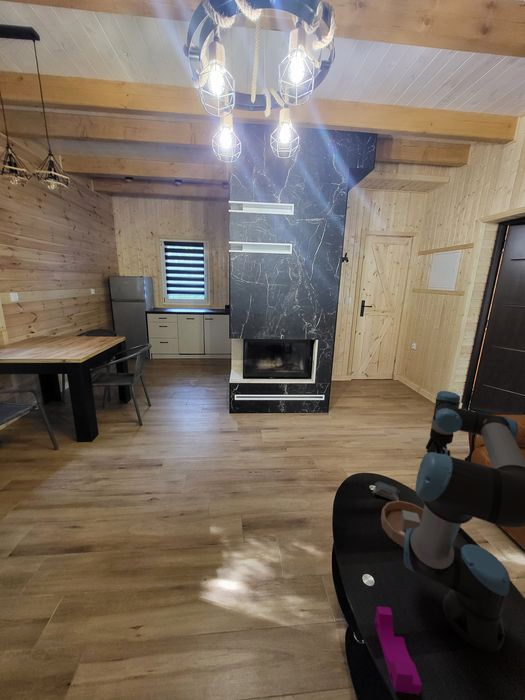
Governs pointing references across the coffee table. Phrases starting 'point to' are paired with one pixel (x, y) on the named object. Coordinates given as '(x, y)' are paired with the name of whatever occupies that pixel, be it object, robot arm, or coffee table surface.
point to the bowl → (397, 519)
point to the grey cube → (409, 520)
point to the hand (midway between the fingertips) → (433, 478)
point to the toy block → (396, 654)
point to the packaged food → (386, 491)
